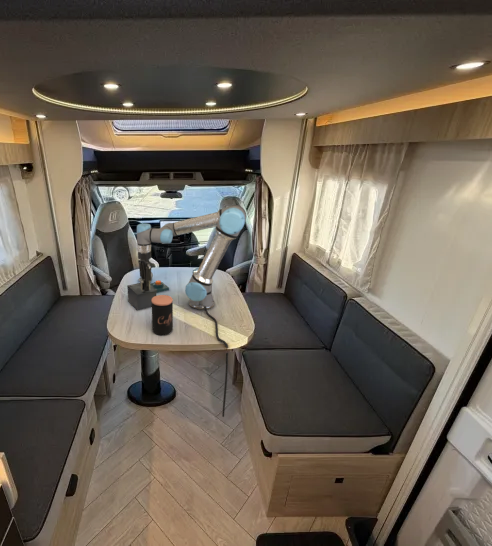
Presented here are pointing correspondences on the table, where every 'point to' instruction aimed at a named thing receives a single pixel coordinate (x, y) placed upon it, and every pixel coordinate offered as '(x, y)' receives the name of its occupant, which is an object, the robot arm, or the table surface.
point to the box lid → (138, 288)
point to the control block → (160, 287)
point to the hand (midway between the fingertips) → (145, 290)
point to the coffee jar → (162, 314)
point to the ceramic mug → (151, 277)
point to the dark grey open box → (140, 300)
